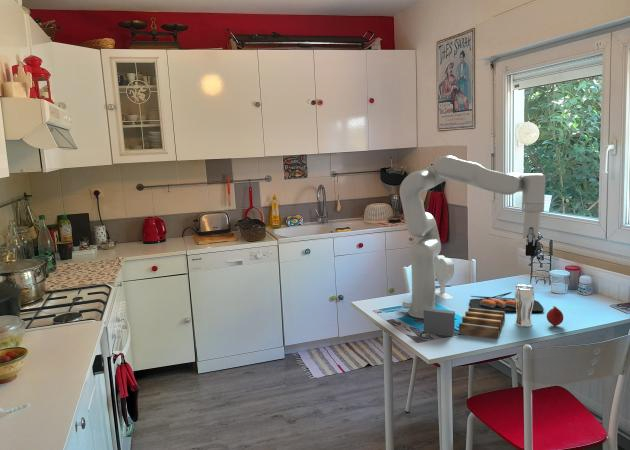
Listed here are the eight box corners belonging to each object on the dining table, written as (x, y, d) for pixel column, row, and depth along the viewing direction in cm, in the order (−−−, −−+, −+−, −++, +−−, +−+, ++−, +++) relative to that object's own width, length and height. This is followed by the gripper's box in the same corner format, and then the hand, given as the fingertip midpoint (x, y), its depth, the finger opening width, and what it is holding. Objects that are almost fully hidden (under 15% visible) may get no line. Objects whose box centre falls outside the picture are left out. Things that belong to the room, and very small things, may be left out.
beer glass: (517, 319, 207) (518, 283, 205) (535, 323, 203) (536, 286, 201) (511, 325, 202) (512, 287, 200) (529, 328, 198) (531, 290, 195)
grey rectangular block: (423, 332, 198) (423, 310, 196) (425, 330, 200) (425, 307, 199) (452, 336, 193) (452, 313, 191) (454, 334, 196) (454, 311, 194)
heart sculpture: (430, 290, 251) (430, 254, 248) (439, 289, 252) (439, 253, 249) (445, 299, 236) (445, 261, 233) (455, 298, 237) (455, 260, 234)
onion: (558, 323, 202) (559, 303, 201) (565, 328, 197) (566, 308, 195) (543, 323, 202) (544, 304, 201) (550, 329, 197) (551, 309, 195)
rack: (458, 333, 195) (458, 322, 195) (468, 316, 213) (468, 306, 212) (497, 339, 189) (498, 327, 188) (504, 321, 207) (505, 310, 206)
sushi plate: (472, 313, 219) (472, 304, 218) (464, 292, 248) (465, 284, 247) (545, 315, 213) (546, 306, 213) (529, 293, 242) (529, 285, 242)
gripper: (523, 204, 200) (522, 247, 202) (519, 210, 184) (518, 257, 187) (545, 204, 196) (543, 248, 199) (542, 211, 181) (540, 259, 184)
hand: (531, 253), depth 193 cm, fingers open, 9 cm apart
